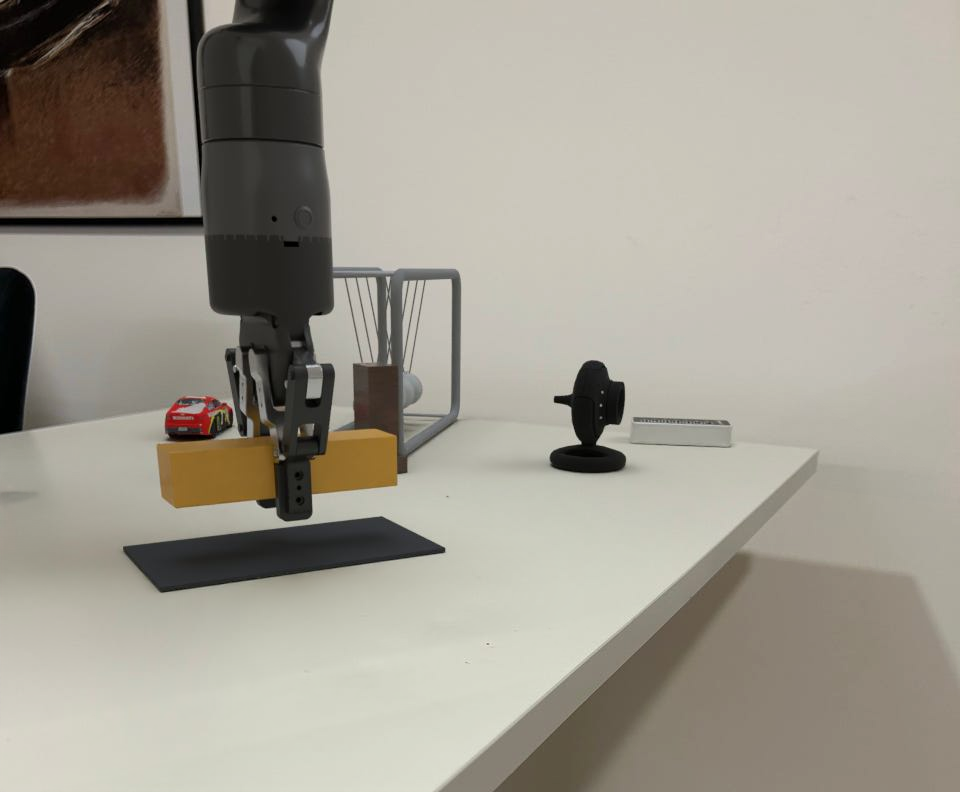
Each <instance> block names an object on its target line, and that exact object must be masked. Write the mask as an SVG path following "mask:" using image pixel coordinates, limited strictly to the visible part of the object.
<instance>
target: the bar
mask: <svg viewBox="0 0 960 792" xmlns="http://www.w3.org/2000/svg"><path fill="white" fill-rule="evenodd" d="M299 436H300V433H298V437H299ZM155 447H156V454H157V455H156V456H157V464H158V465H157V467H158V474H159V475H158V476H159V483H160V495H161V496H160V497H161V499H163V500H164V501H165V502H167V503H168V504H170V506H172V507H173V508H174V509H183V508H195V507H202V506H203V507H204V506H213V505H221V504H223V505H224V504H232V503H233V504H234V503H242V502H253V501H256V500H263V499H273V498H276V494H275V477H274V463H275V461H274V458H273V455H272V444H271V436H264V437H250V438H247V437H238V438H224V439H222V438H221V439H209V440H196V441H181V442H179V441H178V442H167V443H156V445H155ZM310 463H311V485H312V495H319V494H330V493H339V492H340V493H341V492H349V491H350V492H351V491H359V490H360V491H361V490H369V489H378V488H389V487H397V486H398V473H397V436H396V435H393V434H390V433H387V432H384V431H381V430H378V429H363V430H349V431H335V432H332V431H329V432H328V440H327V449H326V453H325V455H319V456H316V457H315V460H312V461H310Z"/></svg>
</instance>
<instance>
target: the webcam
mask: <svg viewBox="0 0 960 792" xmlns="http://www.w3.org/2000/svg"><path fill="white" fill-rule="evenodd" d="M553 403H554V404H560V405H565V406H568V407H569V408H570V413H571V423H572V427H573V430H574V433H575V436H576V438H577V439H578V441H579V442H580V443H579V444H578V443H577V444H572V445H571V444H570V445H566V446H561V447H558V448H556V449H554V450H552V451H551V452H550V454H549V462H550V463H551V465H552V466H554V467H555V468H558V469H562V470H567V471H574V472H583V473H584V472H585V473H601V472H602V473H603V472H613V471H620V470H622V469H623V468H624V467H625V466H626V463H627V457H626V454H625V453H623V452H622V451H620V450H617V449H614V448H611V447H607V446H605V445H600V444H597V443H598V441H599V440H600V438H601V437H602V434H603V433H604V431H605V428H606V427H607V426H609V425H611V426H612V425H613V426H620V425H621V424H622V422H623V417H624V413H625V405H626V385H625V382H624V381H618V380H613V379H611V378H610V375H609V371H608V367H606V365H605V363H604V362H602V361H599V360H596V359H590V360H587V361H585V362H584V363H582V365H581V367H580V368H579V370H578V371H577V374H576V377H575V380H574V383H573V386H572V393H570V394H567V395H566V394H565V395H554V396H553Z"/></svg>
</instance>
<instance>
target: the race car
mask: <svg viewBox="0 0 960 792" xmlns="http://www.w3.org/2000/svg"><path fill="white" fill-rule="evenodd" d="M233 426H234V409H233V408H232V406H229V405H228V403H227V402H221V401H220V400H219V399H217V398H216V397H214V396H206V395H187V396H182V397H180V398H178V399H177V400H176V401H175V402H174V403H173V405H172V406H171V407H170V408H169V409H168V411H166V413H165V418H164V431H165V432H164V433H165V435H167V436H168V437H170V438H177V437H178V435H202V436H203V435H205V436H206V438H216V436H217V433H218V432H219V431H221V430H223V429H224V428H227V427H229V428H231V427H233Z"/></svg>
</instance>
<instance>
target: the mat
mask: <svg viewBox="0 0 960 792" xmlns="http://www.w3.org/2000/svg"><path fill="white" fill-rule="evenodd" d="M122 551H123V552H124V553H125V554H126V555H127V556H128V558H129V559H130V560H131V561H132V562H133V563H134V564H135V566H137V568H139V570H140V571H141V572H142V573H143V574H144V575H145V576H146V577H147V578H148V579H149V581H150V580H151V581H150V582H151V583H152V584H153V585H154V586H155V587H156V588H157V590H158V591H159V592H160V591H161V592H160V593H163V592H169V591H170V590H171V591H176V590H175V589H178V590H184V588H185V589H192V588H197V587H205V586H212V585H213V586H214V585H219V584H226V583H227V584H228V583H233V582H232V581H234V582H239V581H238V580H242V581H247V580H246V579H249V580H252V579H251V578H256V579H259V578H258V577H263V578H268V577H267V576H270V577H274V576H273V575H277V576H282V574H284V575H291V574H297V572H298V573H305V572H311V571H318V570H327V569H333V568H340V567H347V566H355V565H362V564H368V563H374V562H376V563H377V562H382V561H383V562H384V561H390V560H398V559H404V558H411V557H419V556H424V555H433V554H439V553H446V547H445V546H443V545H441V544H439V543H437V542H435V541H432V540H431V539H429V538H426V537H425V536H422V535H420V534H418V533H417V532H415V531H413V530H410V528H409V529H408V528H407V527H404V526H403V525H401V524H400V523H399V524H398V523H397V522H394V521H392V520H391V519H389V518H386V517H384V516H382V515H380V516H372V517H364V518H354V519H346V520H337V521H330V522H329V521H328V522H321V523H312V524H311V523H310V524H302V525H295V526H293V525H292V526H286V527H285V526H284V527H277V528H269V529H260V530H259V529H258V530H251V531H242V532H233V533H226V534H218V535H209V536H208V535H207V536H200V537H192V538H191V537H190V538H183V539H174V540H173V539H172V540H166V541H158V542H157V541H156V542H149V543H141V544H131V545H124V546H122ZM287 573H288V574H287ZM290 573H291V574H290ZM181 588H182V589H181ZM162 591H163V592H162Z"/></svg>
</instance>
